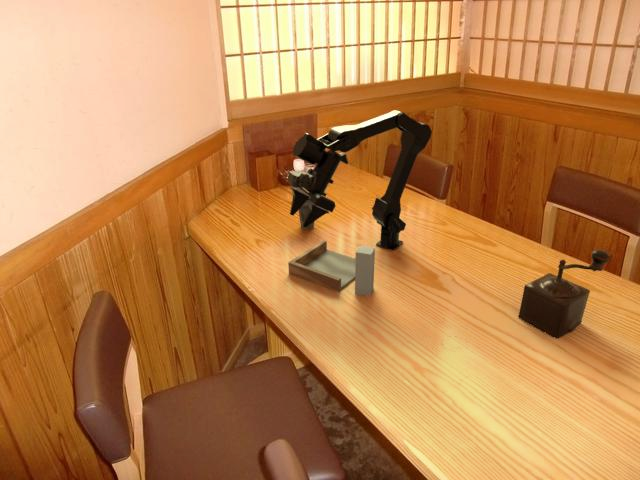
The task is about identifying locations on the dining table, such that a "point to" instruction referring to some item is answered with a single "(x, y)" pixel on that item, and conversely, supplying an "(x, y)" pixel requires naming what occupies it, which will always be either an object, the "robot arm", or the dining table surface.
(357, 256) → the slate block
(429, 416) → the dining table surface
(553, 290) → the manual coffee grinder
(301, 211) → the beverage cup
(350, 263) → the tray
